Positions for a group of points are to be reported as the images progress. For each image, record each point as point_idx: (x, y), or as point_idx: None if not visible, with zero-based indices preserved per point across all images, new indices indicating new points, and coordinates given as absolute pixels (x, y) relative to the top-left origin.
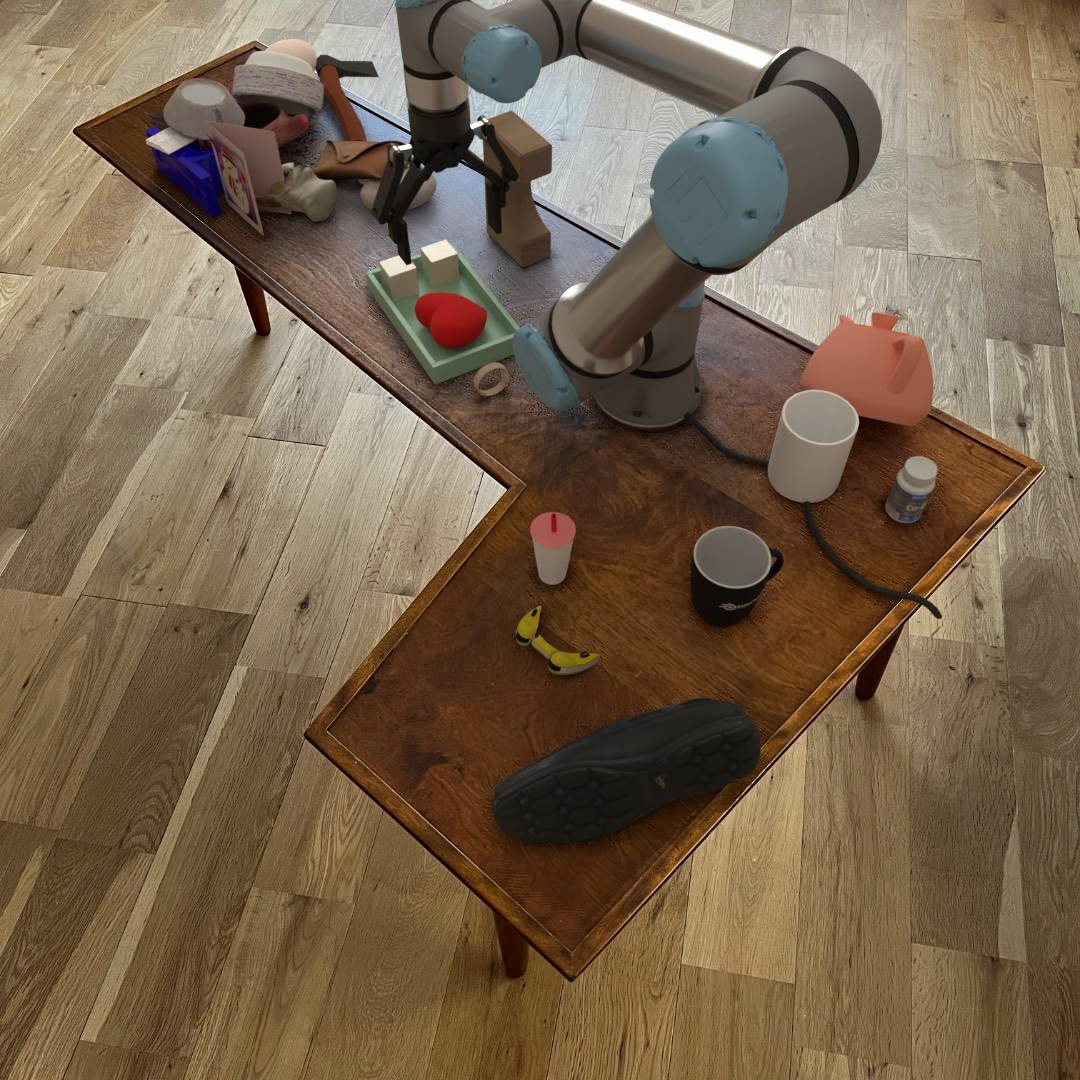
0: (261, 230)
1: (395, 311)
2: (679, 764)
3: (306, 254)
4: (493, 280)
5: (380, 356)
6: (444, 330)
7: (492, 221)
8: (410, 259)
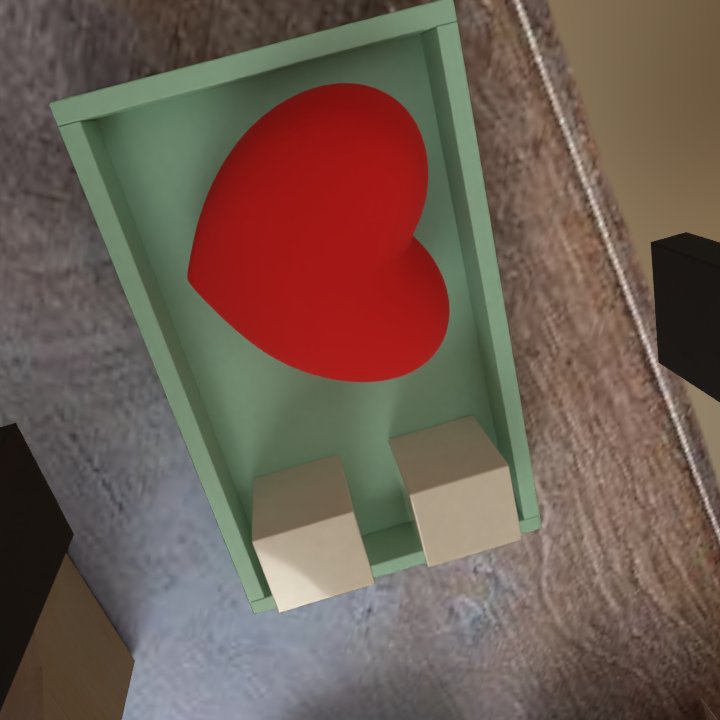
0: (711, 713)
1: (504, 338)
2: None
3: (626, 633)
4: (142, 469)
5: (561, 204)
6: (391, 118)
7: (22, 514)
8: (676, 249)
